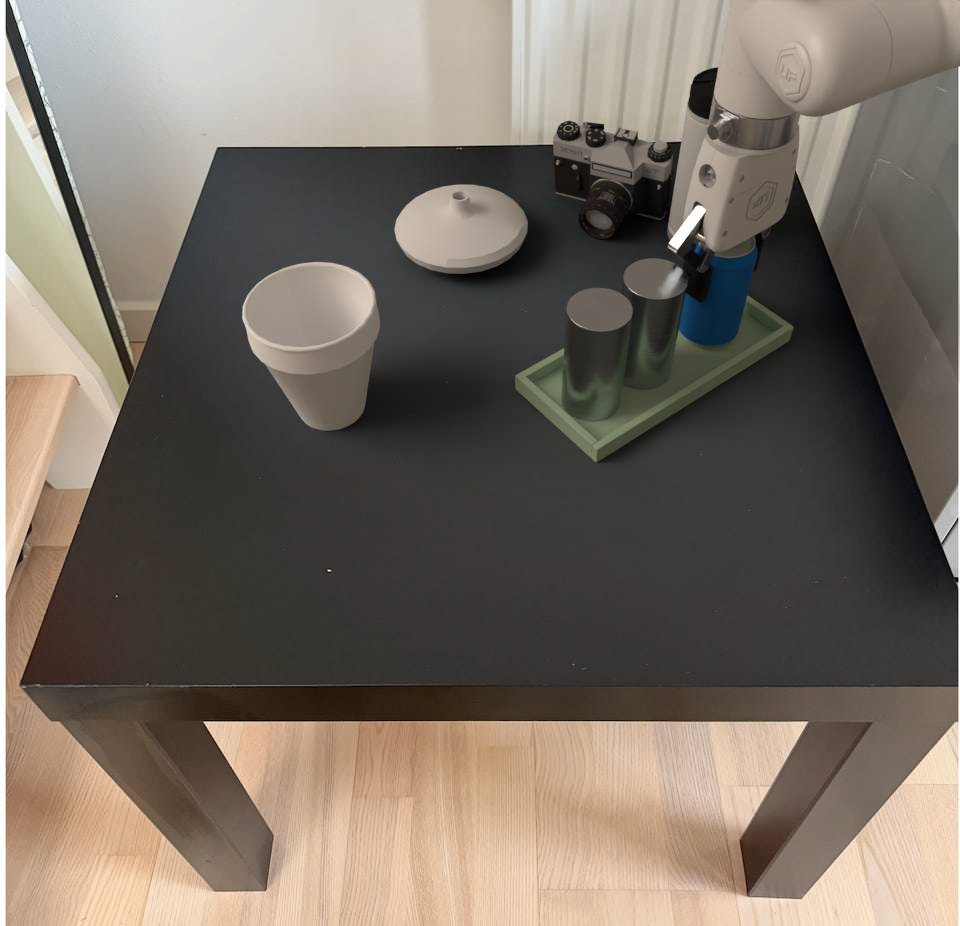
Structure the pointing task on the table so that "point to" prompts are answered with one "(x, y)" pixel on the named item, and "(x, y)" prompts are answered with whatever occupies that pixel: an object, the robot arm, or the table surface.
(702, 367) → the tray
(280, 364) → the white flower pot
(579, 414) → the can
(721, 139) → the robot arm
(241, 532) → the table surface
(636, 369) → the can
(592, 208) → the camera
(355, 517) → the table surface
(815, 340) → the table surface
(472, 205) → the vase
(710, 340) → the beverage can
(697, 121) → the travel mug
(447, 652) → the table surface
